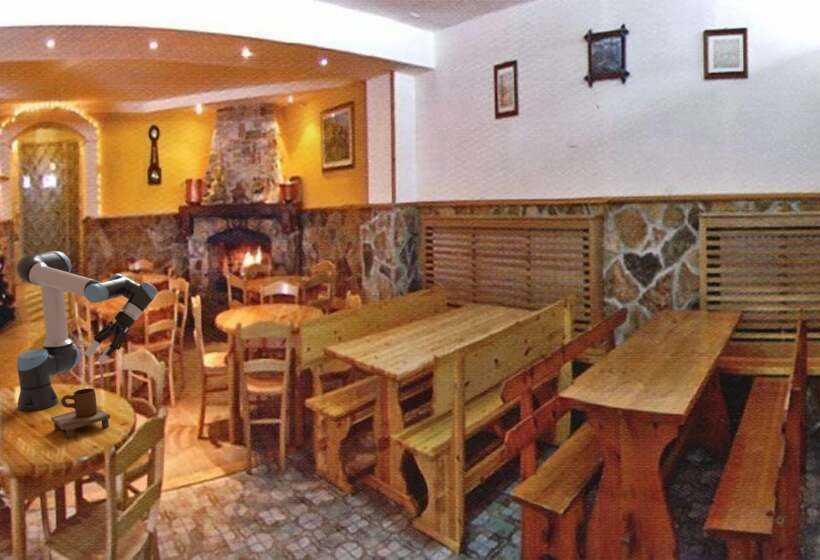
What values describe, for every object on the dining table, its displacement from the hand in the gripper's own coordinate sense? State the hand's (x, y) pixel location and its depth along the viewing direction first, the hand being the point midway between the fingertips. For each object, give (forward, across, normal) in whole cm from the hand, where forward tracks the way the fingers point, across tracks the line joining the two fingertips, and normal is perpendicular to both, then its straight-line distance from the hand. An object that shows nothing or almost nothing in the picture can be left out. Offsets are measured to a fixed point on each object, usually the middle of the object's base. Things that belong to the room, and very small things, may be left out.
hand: (93, 358), depth 258 cm
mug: (+20, -5, -8) cm, 22 cm away
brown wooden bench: (+24, -6, -12) cm, 27 cm away
